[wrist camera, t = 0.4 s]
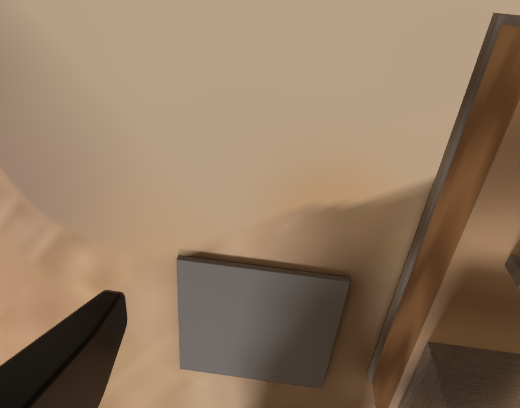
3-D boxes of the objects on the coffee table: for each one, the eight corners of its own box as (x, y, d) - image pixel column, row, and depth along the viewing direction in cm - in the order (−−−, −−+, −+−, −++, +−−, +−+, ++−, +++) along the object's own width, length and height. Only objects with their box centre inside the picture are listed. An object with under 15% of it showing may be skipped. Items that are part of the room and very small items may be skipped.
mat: (321, 383, 29) (321, 388, 29) (181, 364, 30) (180, 368, 30) (349, 277, 24) (350, 282, 24) (178, 255, 25) (176, 259, 24)
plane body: (462, 386, 28) (491, 472, 24) (366, 374, 28) (377, 456, 24) (662, 30, 16) (801, 65, 12) (493, 12, 16) (565, 40, 12)
